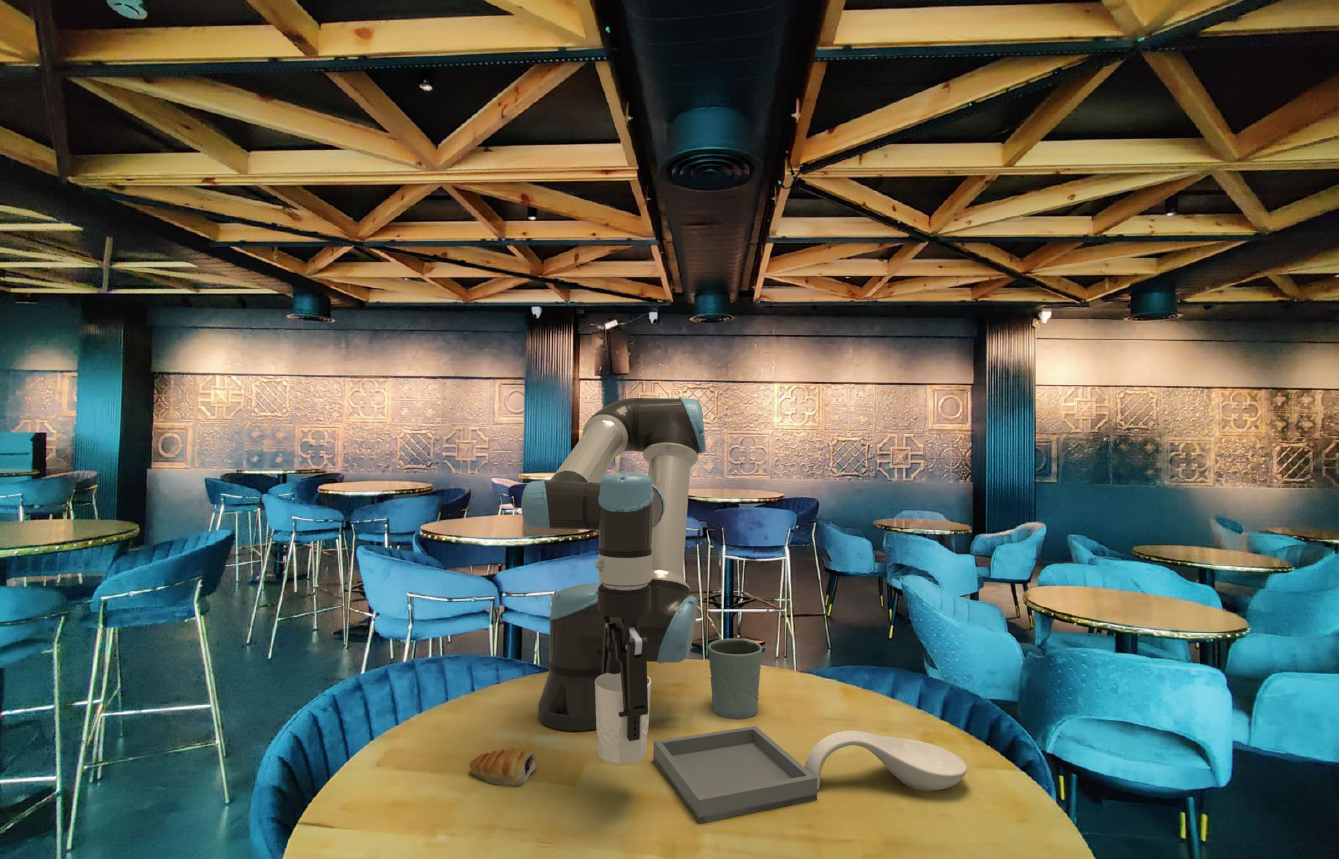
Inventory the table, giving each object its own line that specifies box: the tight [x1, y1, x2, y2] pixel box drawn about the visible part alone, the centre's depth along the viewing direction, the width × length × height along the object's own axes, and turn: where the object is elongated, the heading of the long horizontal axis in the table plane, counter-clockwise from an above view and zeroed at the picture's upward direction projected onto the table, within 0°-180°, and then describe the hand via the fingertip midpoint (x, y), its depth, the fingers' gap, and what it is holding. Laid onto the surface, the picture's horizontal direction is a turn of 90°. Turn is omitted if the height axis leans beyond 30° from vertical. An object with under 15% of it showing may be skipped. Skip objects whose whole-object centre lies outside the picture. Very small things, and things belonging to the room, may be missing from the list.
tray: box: [653, 725, 818, 824], centre depth 94 cm, size 18×18×3 cm
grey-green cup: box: [707, 638, 763, 720], centre depth 120 cm, size 10×10×12 cm
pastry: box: [469, 747, 537, 787], centre depth 94 cm, size 9×7×4 cm
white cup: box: [595, 673, 652, 765], centre depth 89 cm, size 8×8×10 cm
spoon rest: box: [804, 730, 968, 792], centre depth 94 cm, size 24×12×7 cm, turn 97°
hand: (622, 747), depth 89 cm, fingers closed on white cup, 7 cm apart
